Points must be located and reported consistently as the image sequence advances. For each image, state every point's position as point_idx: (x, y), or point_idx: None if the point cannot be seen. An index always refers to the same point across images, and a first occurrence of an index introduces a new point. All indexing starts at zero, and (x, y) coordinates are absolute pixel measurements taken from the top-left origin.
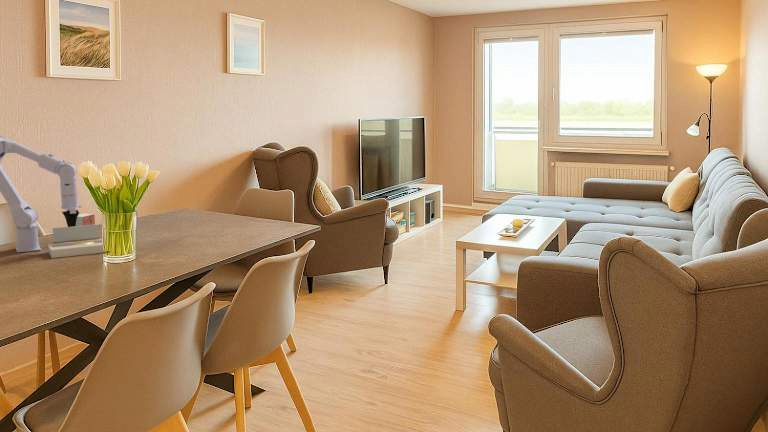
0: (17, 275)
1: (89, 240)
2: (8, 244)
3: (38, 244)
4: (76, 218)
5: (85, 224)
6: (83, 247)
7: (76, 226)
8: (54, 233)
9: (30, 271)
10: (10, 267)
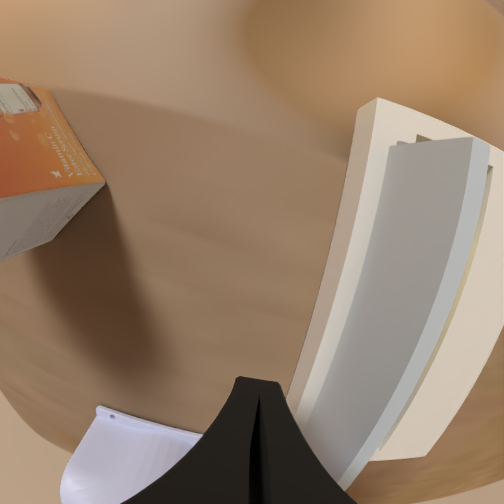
0: (487, 476)
1: (361, 228)
2: (38, 433)
3: (172, 449)
4: (340, 489)
5: (1, 164)
6: (498, 328)
7: (392, 420)
8: None
9: (488, 461)
10: (409, 500)
